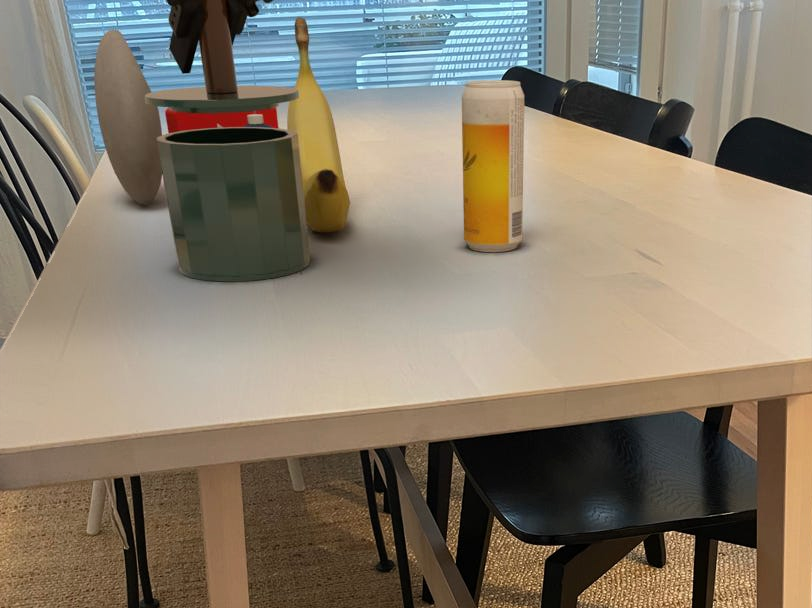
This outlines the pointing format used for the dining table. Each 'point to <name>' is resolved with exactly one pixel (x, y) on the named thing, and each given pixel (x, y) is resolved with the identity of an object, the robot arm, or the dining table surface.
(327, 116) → the banana
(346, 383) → the dining table surface
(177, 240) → the storage jar
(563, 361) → the dining table surface
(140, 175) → the grey-brown flattened oval
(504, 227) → the beer can
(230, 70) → the jar lid
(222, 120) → the play button
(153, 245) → the dining table surface
